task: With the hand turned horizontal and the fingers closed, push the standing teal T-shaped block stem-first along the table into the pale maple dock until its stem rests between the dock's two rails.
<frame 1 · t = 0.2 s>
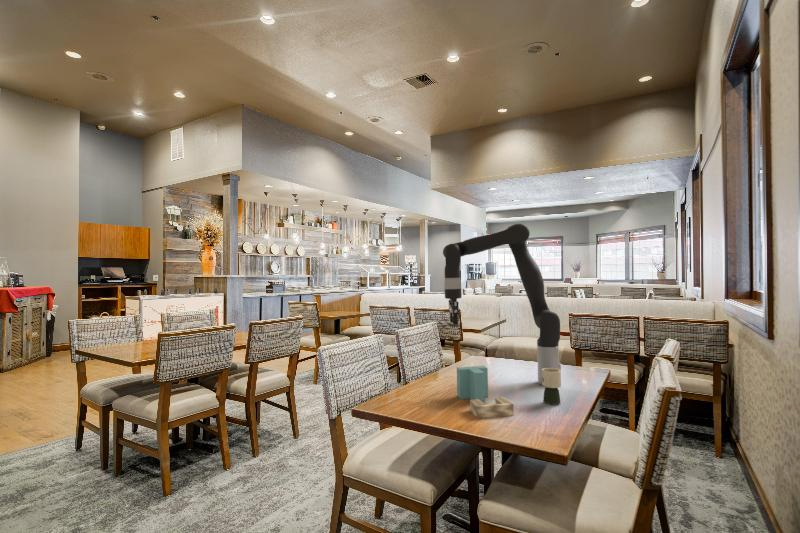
hand: (454, 323, 192), 28 cm above the table, fingers open, 8 cm apart
t block: (474, 398, 174), on the table
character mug: (551, 403, 166), on the table
dock: (484, 407, 162), on the table
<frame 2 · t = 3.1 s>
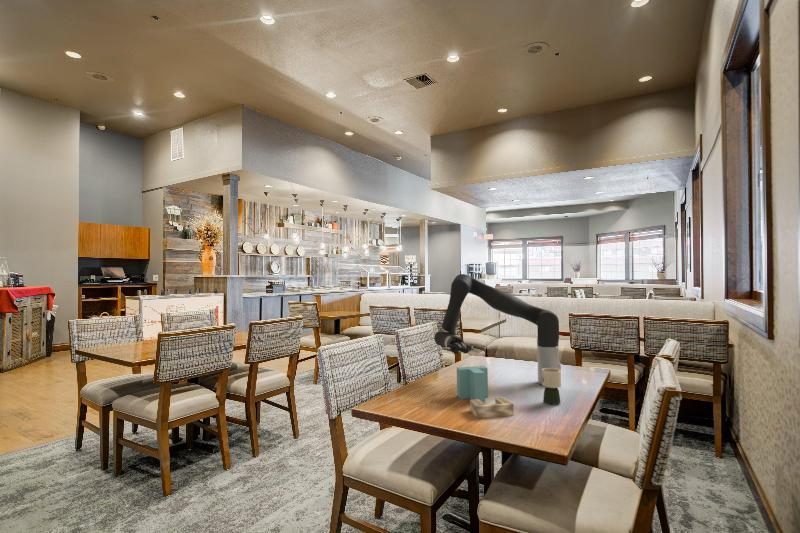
hand: (466, 350, 183), 18 cm above the table, fingers closed
nothing on the table moved.
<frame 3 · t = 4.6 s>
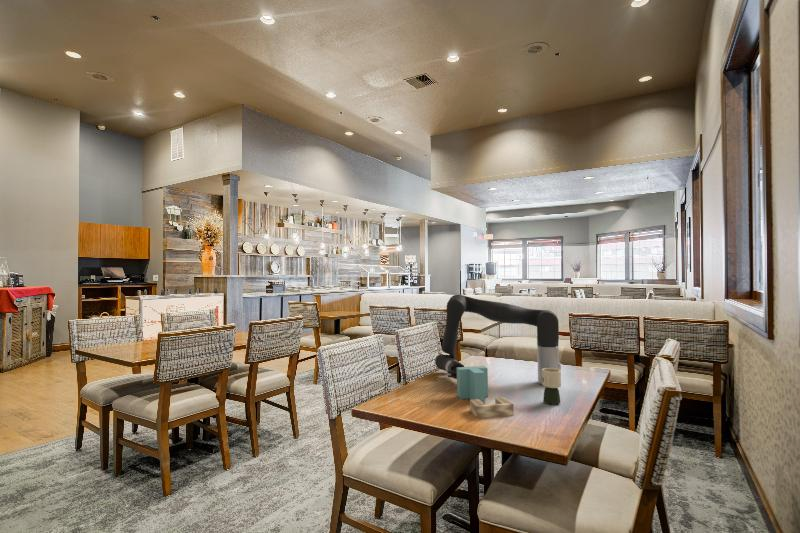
hand: (466, 377, 183), 6 cm above the table, fingers closed
nothing on the table moved.
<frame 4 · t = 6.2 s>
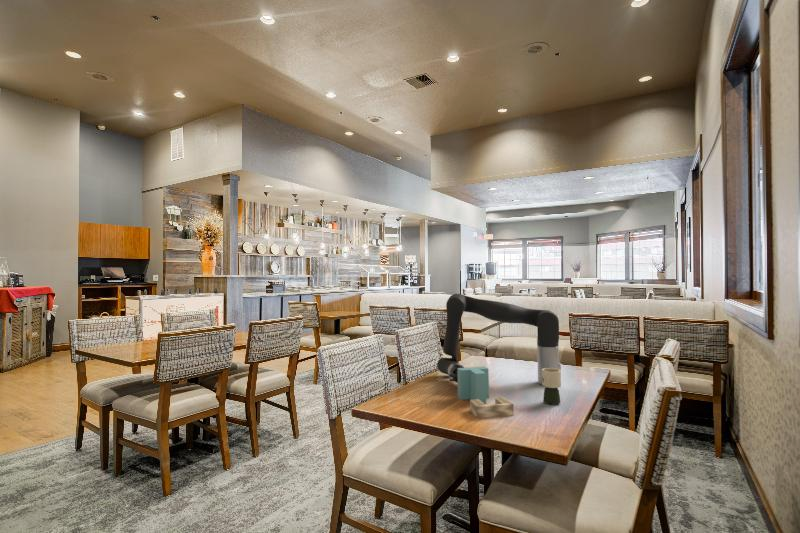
hand: (469, 382, 177), 6 cm above the table, fingers closed
t block: (475, 398, 173), on the table, touching gripper
everything else where it was.
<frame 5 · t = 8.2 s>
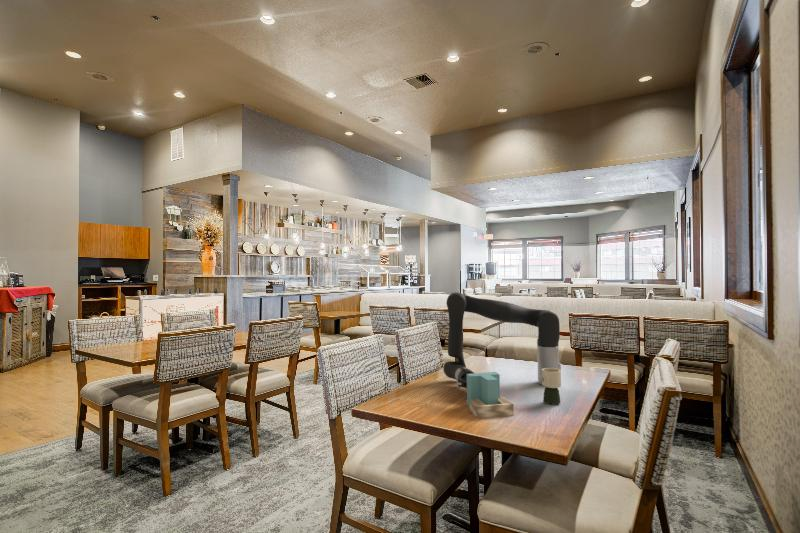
hand: (479, 388, 167), 6 cm above the table, fingers closed
t block: (485, 406, 163), on the table, touching gripper
everything else where it was.
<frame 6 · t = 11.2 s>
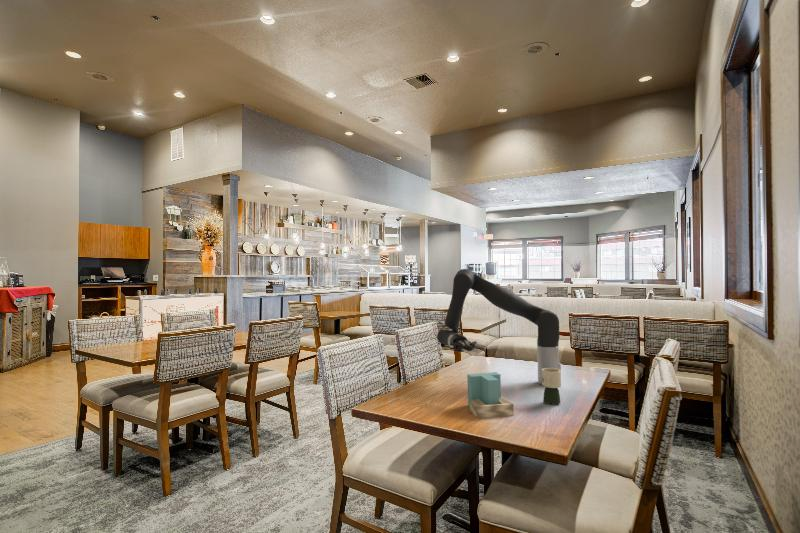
hand: (469, 348, 179), 19 cm above the table, fingers closed
t block: (486, 406, 163), on the table
everything else where it was.
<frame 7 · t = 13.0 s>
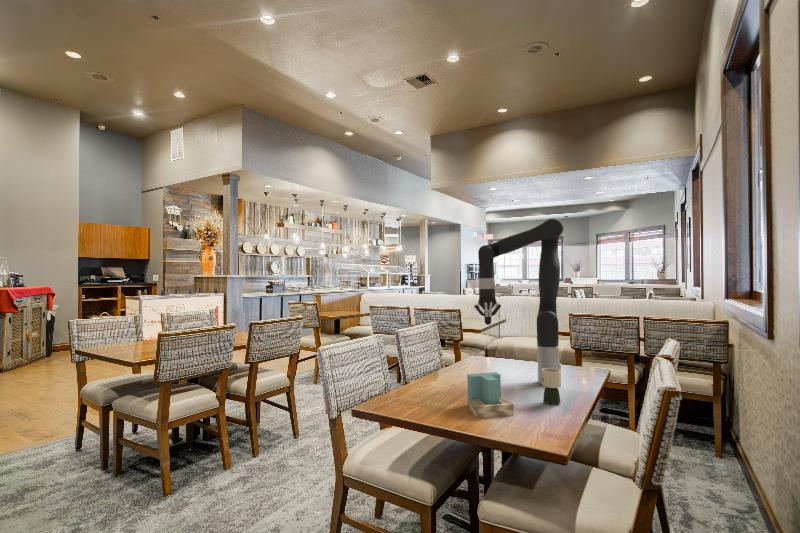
hand: (488, 324, 199), 27 cm above the table, fingers closed
nothing on the table moved.
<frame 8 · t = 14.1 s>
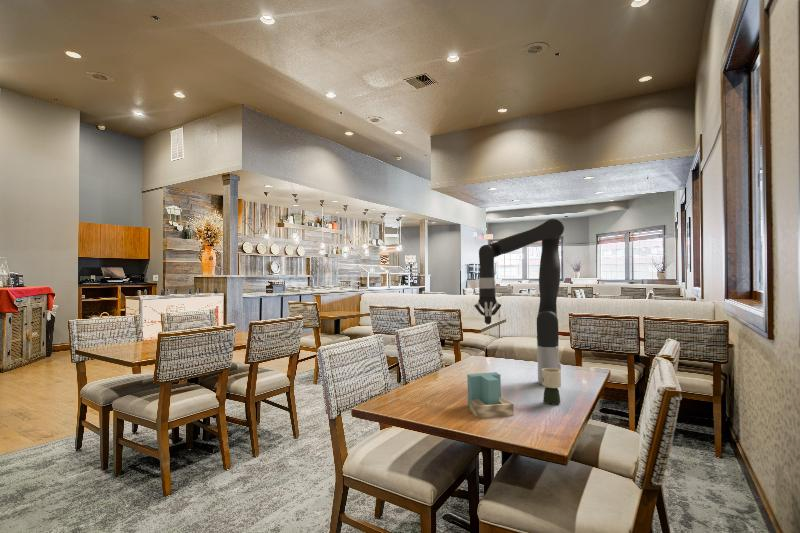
hand: (487, 324, 199), 27 cm above the table, fingers closed
nothing on the table moved.
at the end: t block inside the target area on the dock (0.8 cm from its centre), point 0.0 cm above the dock's base; t block tilted 0°; t block moved 11.9 cm from its start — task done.
